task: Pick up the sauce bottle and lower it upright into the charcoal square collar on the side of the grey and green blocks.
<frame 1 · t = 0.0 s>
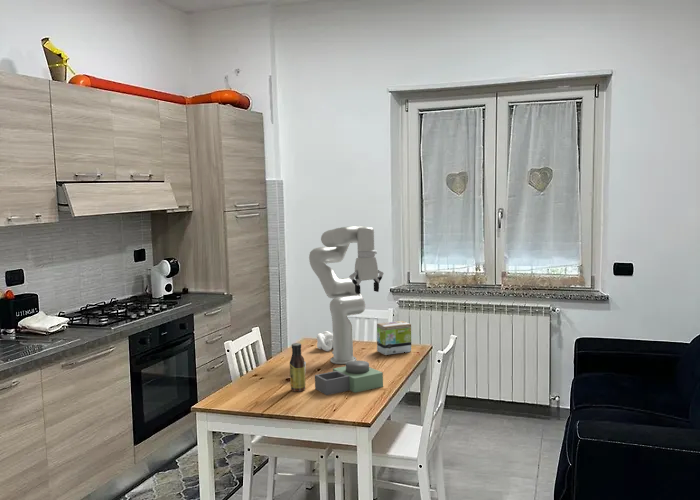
hand: (367, 292, 289), 37 cm above the table, tool pointing down, fingers open, 9 cm apart
sauce bottle: (298, 390, 270), on the table
white knot sculpture: (328, 349, 338), on the table
tea box: (394, 352, 329), on the table
shot glass: (298, 378, 288), on the table
grey and green blocks: (332, 389, 270), on the table
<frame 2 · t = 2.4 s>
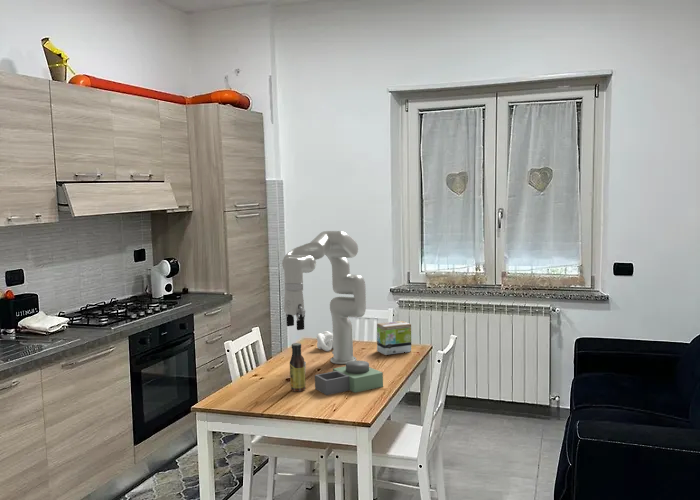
hand: (295, 327, 268), 27 cm above the table, tool pointing down, fingers open, 9 cm apart
nothing on the table moved.
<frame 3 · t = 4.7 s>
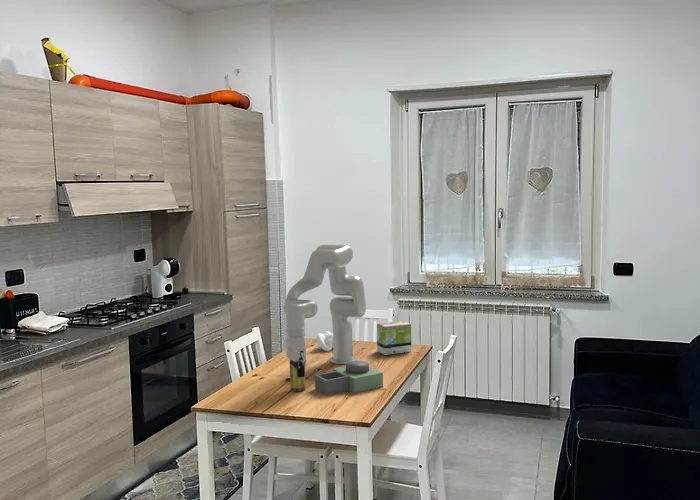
hand: (297, 374, 270), 7 cm above the table, tool pointing down, fingers closed on sauce bottle, 6 cm apart
sauce bottle: (298, 390, 270), on the table, touching gripper
everything else where it was.
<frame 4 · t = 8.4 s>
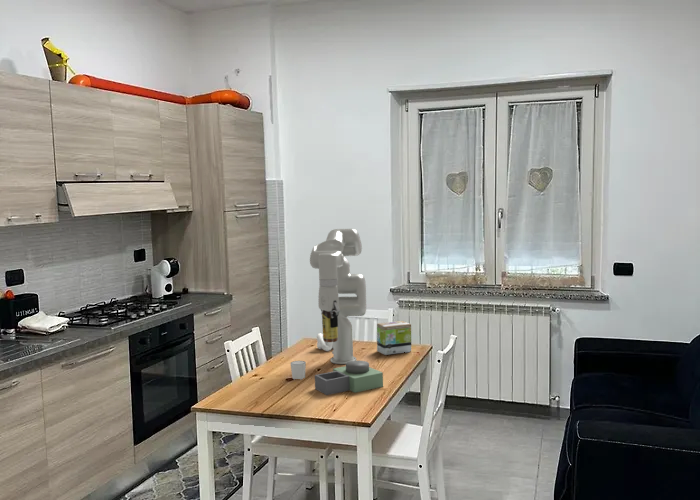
hand: (330, 325, 267), 27 cm above the table, tool pointing down, fingers closed on sauce bottle, 6 cm apart
sauce bottle: (330, 341, 268), point 20 cm above the table, touching gripper
everything else where it was.
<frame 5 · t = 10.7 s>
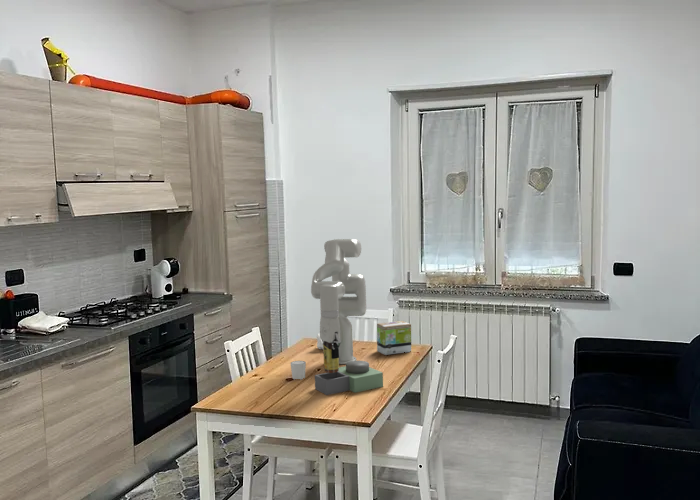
hand: (331, 356, 268), 14 cm above the table, tool pointing down, fingers closed on sauce bottle, 6 cm apart
sauce bottle: (331, 372, 269), point 7 cm above the table, touching gripper
everything else where it was.
when the fingers open (8 cm above the table, at t = 12.5 s): sauce bottle drops 2 cm, resting in grey and green blocks.
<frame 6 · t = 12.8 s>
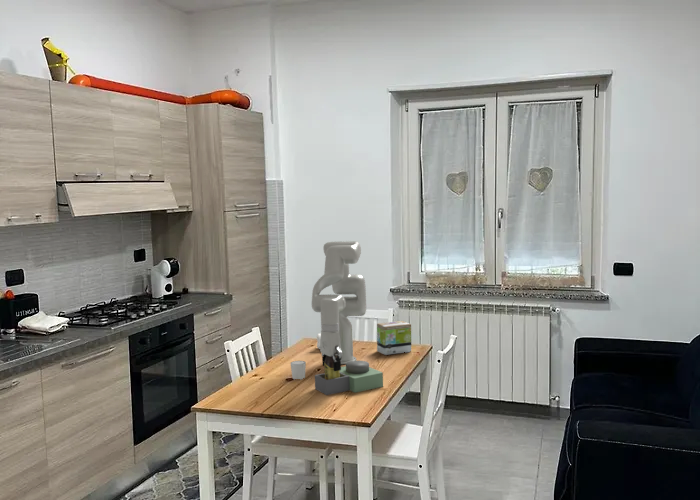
hand: (331, 367, 269), 9 cm above the table, tool pointing down, fingers open, 9 cm apart
sauce bottle: (332, 390, 269), resting in grey and green blocks
everything else where it was.
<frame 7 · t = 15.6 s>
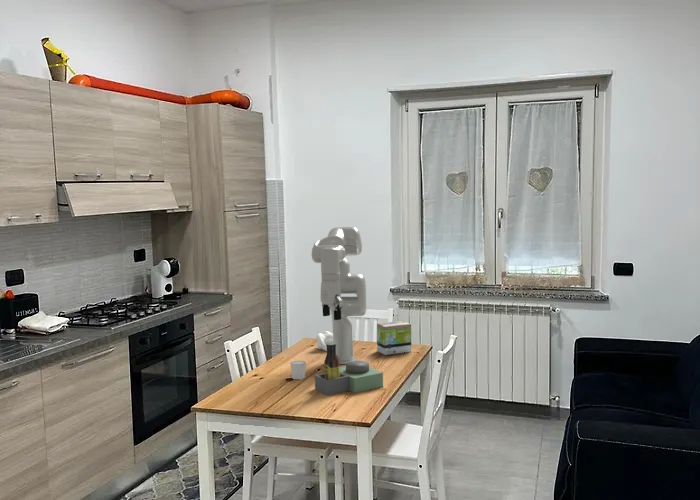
hand: (332, 317, 268), 30 cm above the table, tool pointing down, fingers open, 9 cm apart
nothing on the table moved.
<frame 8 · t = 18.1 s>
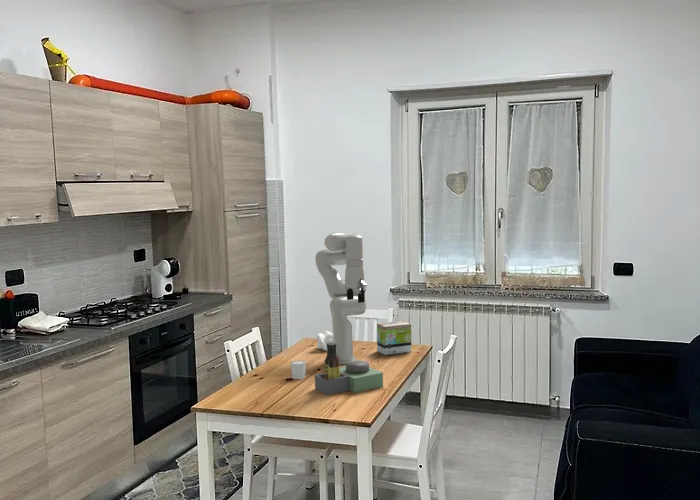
hand: (355, 300, 289), 33 cm above the table, tool pointing down, fingers open, 9 cm apart
nothing on the table moved.
at the end: sauce bottle 0.2 cm off-centre on the grey and green blocks, point 0.0 cm above the grey and green blocks's base; sauce bottle tilted 0°; the gripper is holding nothing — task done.
